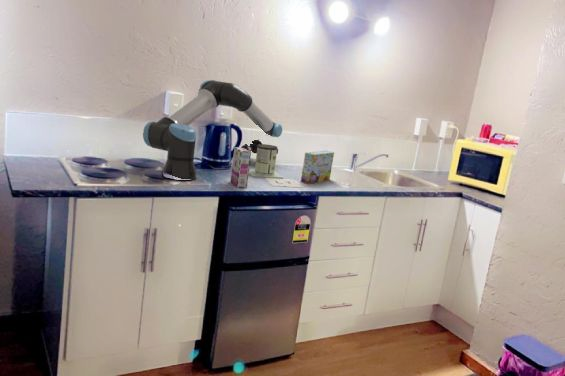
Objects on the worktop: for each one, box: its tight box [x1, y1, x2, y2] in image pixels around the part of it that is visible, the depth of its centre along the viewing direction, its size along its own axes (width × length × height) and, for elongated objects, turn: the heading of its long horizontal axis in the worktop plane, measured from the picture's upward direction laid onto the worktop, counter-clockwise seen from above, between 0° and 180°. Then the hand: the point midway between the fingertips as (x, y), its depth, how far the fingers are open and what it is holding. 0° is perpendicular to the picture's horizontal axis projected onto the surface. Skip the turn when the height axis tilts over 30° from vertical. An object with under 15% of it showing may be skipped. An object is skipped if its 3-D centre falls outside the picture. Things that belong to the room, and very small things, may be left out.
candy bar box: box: [230, 146, 252, 189], centre depth 220 cm, size 11×5×16 cm, turn 22°
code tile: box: [264, 178, 305, 189], centre depth 238 cm, size 16×16×1 cm
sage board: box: [248, 168, 284, 179], centre depth 252 cm, size 16×16×1 cm
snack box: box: [300, 150, 335, 185], centre depth 250 cm, size 21×6×15 cm, turn 146°
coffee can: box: [254, 143, 279, 175], centre depth 250 cm, size 10×10×14 cm
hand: (263, 152), depth 257 cm, fingers open, 13 cm apart
